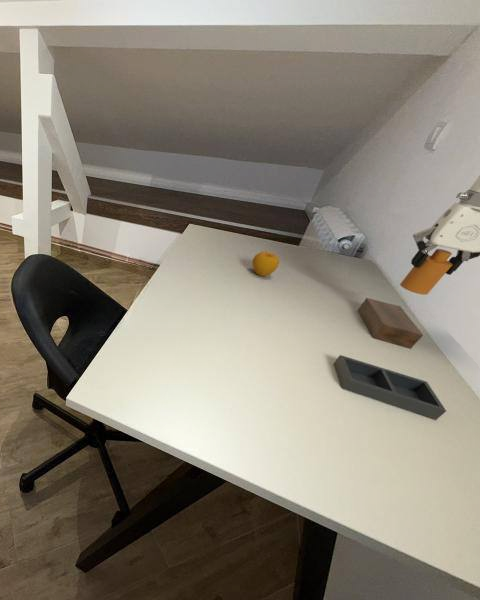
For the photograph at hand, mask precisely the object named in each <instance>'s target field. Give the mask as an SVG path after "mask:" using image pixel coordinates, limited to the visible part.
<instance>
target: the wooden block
mask: <svg viewBox="0 0 480 600" xmlns="http://www.w3.org/2000/svg"><path fill="white" fill-rule="evenodd" d="M357 312H358V314H359V316H360V318H361V319H362V321H363V323H364V325H365V326H366V328H367V330H368V332H369V334H370V335H371V337H372V339H375V340H378V341H382V342H386V343H390V344H393V345H396V346H399V347H404V348H406V349H412V348H413V347H414V346H415V345H416V344H417V343H418V341H419V340H421V338H422V337H423V336H424V334H423V332H421V330H420V329H419V328H418V327H417V325H416V324H415V322H414V321H413V320H412V319H411V317H410V316H409V315H408V314H407V312H406V311H405V310H404V309H403V307H402V306H400V305H396V304H392V303H390V302H389V303H388V302H385V301H381V300H377V299H374V298H369V297H366V298H365V300H364V301H363V302H362V304H361V305H360V306H359V308H358V309H357Z"/></svg>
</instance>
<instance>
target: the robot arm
mask: <svg viewBox="0 0 480 600" xmlns="http://www.w3.org/2000/svg"><path fill="white" fill-rule="evenodd" d="M455 199H459V202H454V203H453V204H452V205H451V206H450V207H449V208H447V209H446V210H445V211H444V212H443V213H442V214H441V215H440V216H439V217H438V218H437V220H436V221H435V222H434V223H433V224H432V226H431V227H428V228H426V229H423V230H421V231H419V232H416V233H414V234H412V237H413V239H414V241H415V244H416V247H417V249H418V251H417V252H416V253H415V255H414V256H413V257H412V259H410V260H411V262H410V265H412V267H417V268H418V267H420V266H421V265H422V263H423V262H424V261H425V259H426V258H427V257H428V256H429V255H430V254H429V253H430V252H431V251H432V250H434V249H436V248H437V247H443V248H448V249H453V250H457V252H456V255H455V256H452V257H451V258H450V259H449V260H448V261H449V262H451V263H452V264H453V265H452V266H451V267H450V269H449V270H448V271H447V272H446V273H445V274H446V275H449V276H451V275H452V274H453V273H454V272H456V271H458V268H459V267H460V266H461V265H462V264H463V263H464V262H468V261H469V260H473V259H475V258H479V257H480V175H479V176H478V177H477V178H476V180H475V181H474V182H473V184H472V185H471V186H470V188H469V189H467V190H466V191H465V192H458V193H457V195H456V198H455ZM424 238H425V239H426V241H424Z"/></svg>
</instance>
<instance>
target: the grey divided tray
mask: <svg viewBox="0 0 480 600" xmlns="http://www.w3.org/2000/svg"><path fill="white" fill-rule="evenodd" d="M333 367H334V370H335V373H336V376H337V379H338V382H339V385H340V387H341V389H342V390H344V391H348V392H351V393H354V394H357V395H359V396H363V397H366V398H369V399H372V400H375V401H378V402H381V403H384V404H387V405H389V406H392V407H396V408H398V409H401V410H404V411H407V412H410V413H413V414H416V415H419V416H422V417H425V418H428V419H431V420H434V421H437V420H438V419H439V418H440V417H441V416H443V415H444V414H445V413H446V412H447V409H446V408H445V406H444V405H443V403H442V402H441V400H440V399H439V398H438V396H437V395H436V393H435V391H434V390H433V389H432V387H431V385H430V384H429V383H428V381H426V380H422V379H419V378H418V377H417V378H416V377H413V376H410V375H406V374H403V373H400V372H397V371H394V370H390V369H387V368H384V367H380V366H377V365H374V364H370V363H367V362H364V361H361V360H358V359H354V358H351V357H348V356H345V355H343V354H340V355H338V357H337V358H336V360H335V361H334V362H333Z"/></svg>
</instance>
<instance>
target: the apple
mask: <svg viewBox="0 0 480 600" xmlns="http://www.w3.org/2000/svg"><path fill="white" fill-rule="evenodd" d="M251 262H252V268H253V271H254V272H255V274H256V275H257V276H260V277H264V278H265V277H266V278H267V277H268V276H270V275H271V274H273V273H275V271H276V270H277V269H278V267H279V265H280V258H279V257H278V256H277V255H276V254H275V253H273V252H270V251H261V252H258V253H257V254H255V255H254V257H253V258H252V261H251Z"/></svg>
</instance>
